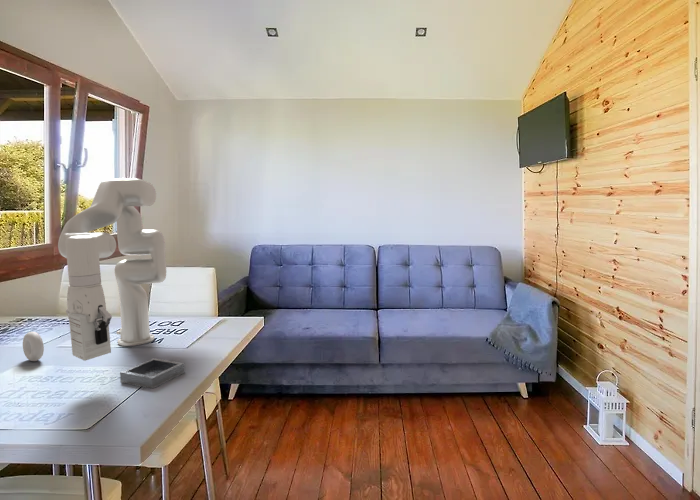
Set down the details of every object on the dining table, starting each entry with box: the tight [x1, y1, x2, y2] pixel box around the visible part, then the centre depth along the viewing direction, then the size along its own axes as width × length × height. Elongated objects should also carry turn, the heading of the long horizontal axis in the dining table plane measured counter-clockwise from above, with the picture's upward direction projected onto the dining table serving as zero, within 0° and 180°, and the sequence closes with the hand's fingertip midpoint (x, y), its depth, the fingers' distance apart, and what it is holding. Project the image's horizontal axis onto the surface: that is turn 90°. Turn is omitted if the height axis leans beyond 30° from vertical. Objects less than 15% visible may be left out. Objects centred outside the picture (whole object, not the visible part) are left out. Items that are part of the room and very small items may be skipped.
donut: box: [22, 331, 45, 362], centre depth 142 cm, size 10×4×10 cm, turn 57°
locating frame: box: [119, 358, 186, 389], centre depth 128 cm, size 12×12×3 cm
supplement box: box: [68, 309, 112, 362], centre depth 120 cm, size 7×7×13 cm
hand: (90, 340), depth 120 cm, fingers closed on supplement box, 8 cm apart
